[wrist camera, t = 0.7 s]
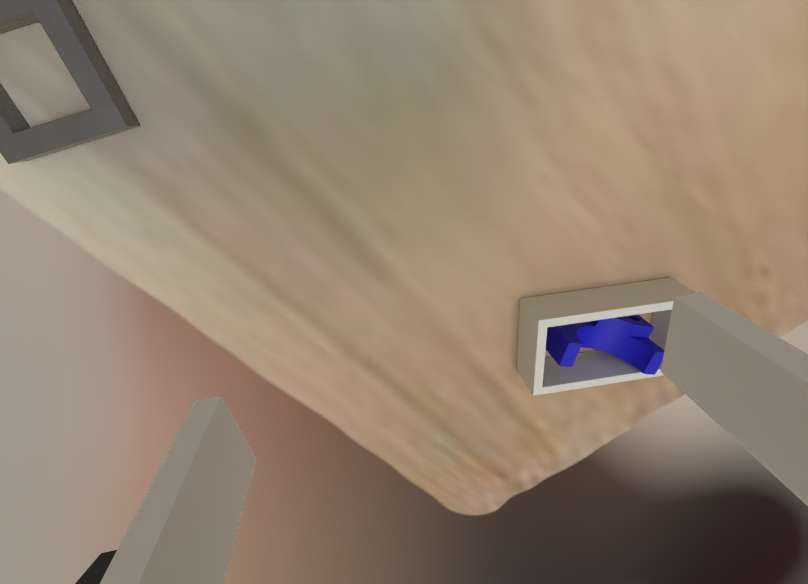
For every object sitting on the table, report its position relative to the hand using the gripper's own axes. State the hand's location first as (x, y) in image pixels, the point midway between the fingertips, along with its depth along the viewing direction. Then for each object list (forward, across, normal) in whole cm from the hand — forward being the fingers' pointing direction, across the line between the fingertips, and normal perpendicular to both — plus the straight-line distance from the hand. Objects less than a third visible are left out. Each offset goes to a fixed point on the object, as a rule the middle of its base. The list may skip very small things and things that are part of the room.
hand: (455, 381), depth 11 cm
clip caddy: (+28, +21, -22) cm, 41 cm away
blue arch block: (+28, +21, -22) cm, 41 cm away
